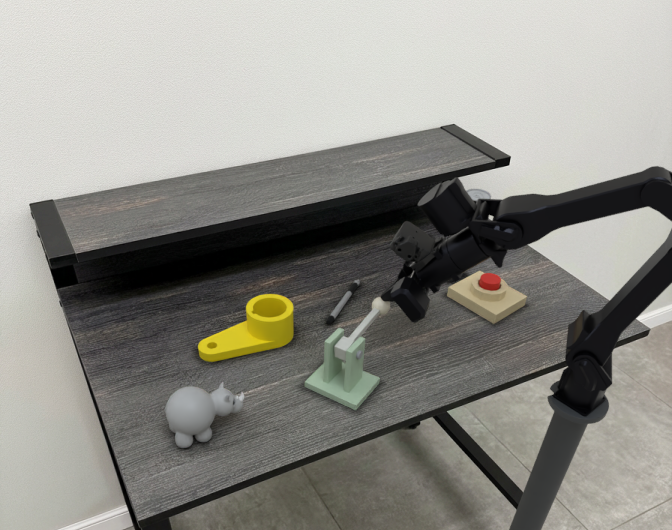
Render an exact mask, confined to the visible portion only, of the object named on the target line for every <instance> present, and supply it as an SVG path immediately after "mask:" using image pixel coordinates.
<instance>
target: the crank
mask: <svg viewBox="0 0 672 530" xmlns="http://www.w3.org/2000/svg"><path fill="white" fill-rule="evenodd" d="M245 313H246V314H245V315H246V320H245V321H243V322H240V323H237V324H234V325H233V326H231V327H228V328H226V329H223V330H222V331H219V332H217V333H215V334H212V335H210V336H208V337H206V338H203V339H202V340H200V341H199V343H198V345H197V349H198V356H199V358H200V359H201V360H203V361H205V362H209V363H210V362H211V363H213V362H218V361H223V360H228V359H232V358H236V357H241V356H246V355H250V354H255V353H260V352H264V351H269V350H273V349H279V348H281V347H284V346H286V345H287V344H289V343H290V342H291V341H292V340H293V338H294V335H295V334H294V333H295V332H294V330H295V329H294V325H295V324H294V304H293V302H292V301H291V300H290V299H289V298H287V297H286V296H283V295H281V294H277V293H264V294H259V295H257V296H254V297H253V298H251V299H250V300H248V301H247V303H246V306H245Z"/></svg>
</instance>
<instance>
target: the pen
mask: <svg viewBox="0 0 672 530" xmlns="http://www.w3.org/2000/svg"><path fill="white" fill-rule="evenodd" d="M360 280H361V279H360V278H359V279H354V281H353V283H352V284H350V287H349V288H348V290H346V292H345V294H344V295H343V297H341V299H340V300H339V302H338V303H337V305H336V306H335V308H334V309H333V310H332V312H331V313H329V315H328V317H327V318H326V321H325V324H327V325H331V324H332V323H333V322H334V321H335V319H336V318H337V317H338V315H339V314H340V313H341V311H342V310H343V308H344V307H345V305H346V304H347V303H348V301H349V300H350V298H351V297H352V295H353V294H354V292H355V291H357V288H358V287H359V286H360V285H361V283H360Z"/></svg>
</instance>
